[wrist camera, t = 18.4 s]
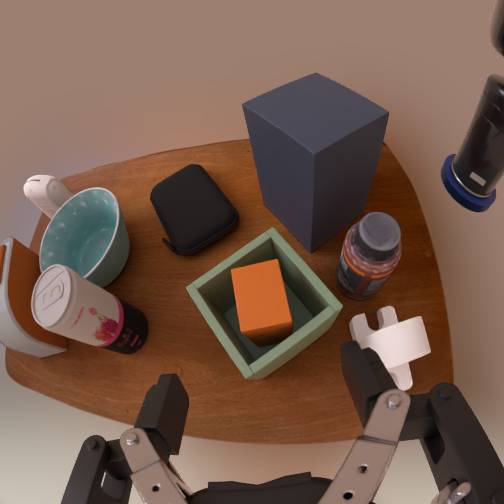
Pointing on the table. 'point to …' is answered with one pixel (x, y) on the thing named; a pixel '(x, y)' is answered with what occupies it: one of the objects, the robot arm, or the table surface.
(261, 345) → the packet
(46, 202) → the photo printer
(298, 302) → the open box
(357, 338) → the cable organizer
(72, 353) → the table surface
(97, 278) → the bowl
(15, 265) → the orange grey trash bin
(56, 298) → the beverage can
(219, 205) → the carrying case
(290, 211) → the stand
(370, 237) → the supplement bottle
